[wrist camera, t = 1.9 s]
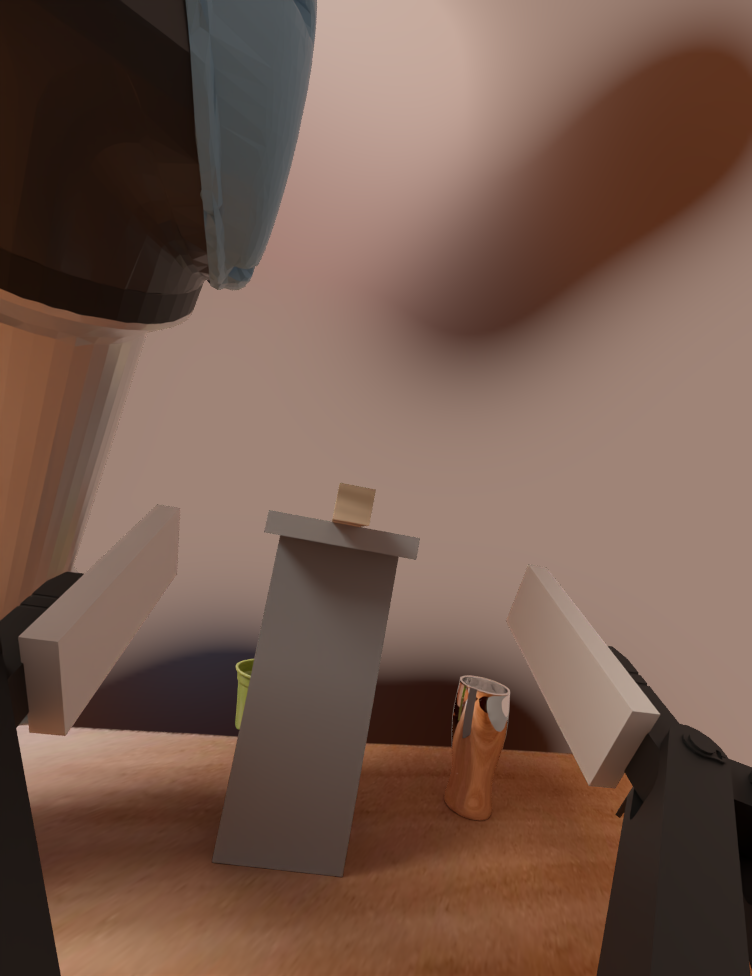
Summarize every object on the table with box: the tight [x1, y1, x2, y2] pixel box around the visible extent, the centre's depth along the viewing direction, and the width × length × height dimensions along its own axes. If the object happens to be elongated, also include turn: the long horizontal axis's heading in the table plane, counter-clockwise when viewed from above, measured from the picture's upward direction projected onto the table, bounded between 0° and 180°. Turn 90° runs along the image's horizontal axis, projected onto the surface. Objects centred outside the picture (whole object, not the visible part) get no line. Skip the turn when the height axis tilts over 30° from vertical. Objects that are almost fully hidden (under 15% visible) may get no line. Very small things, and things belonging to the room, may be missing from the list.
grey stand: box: [212, 510, 420, 877], centre depth 45 cm, size 16×14×32 cm
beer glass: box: [444, 676, 510, 820], centre depth 55 cm, size 7×7×15 cm
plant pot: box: [235, 659, 254, 730], centre depth 65 cm, size 9×9×9 cm
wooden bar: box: [332, 483, 375, 527], centre depth 42 cm, size 26×2×2 cm, turn 6°
